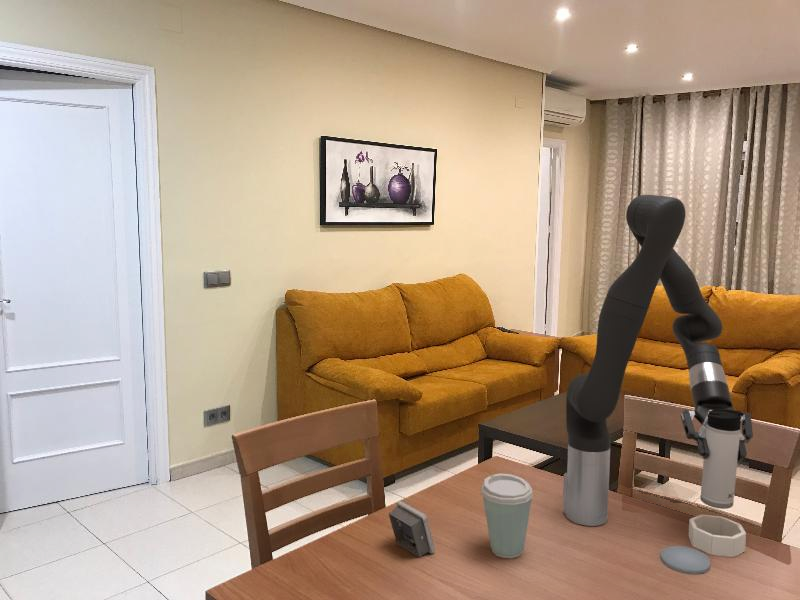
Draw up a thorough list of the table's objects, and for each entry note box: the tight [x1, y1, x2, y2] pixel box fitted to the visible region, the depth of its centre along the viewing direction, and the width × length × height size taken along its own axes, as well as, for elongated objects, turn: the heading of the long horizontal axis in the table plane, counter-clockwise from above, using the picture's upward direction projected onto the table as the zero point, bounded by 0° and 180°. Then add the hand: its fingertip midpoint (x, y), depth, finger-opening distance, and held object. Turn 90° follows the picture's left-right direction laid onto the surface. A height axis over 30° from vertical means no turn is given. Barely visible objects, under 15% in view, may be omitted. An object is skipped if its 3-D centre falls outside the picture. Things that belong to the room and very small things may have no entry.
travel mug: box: [699, 409, 745, 510], centre depth 133 cm, size 6×7×20 cm
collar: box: [688, 514, 747, 558], centre depth 135 cm, size 10×10×4 cm
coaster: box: [660, 545, 711, 575], centre depth 128 cm, size 9×9×1 cm
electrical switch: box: [388, 500, 436, 558], centre depth 133 cm, size 9×5×9 cm, turn 38°
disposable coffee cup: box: [480, 473, 534, 559], centre depth 132 cm, size 11×11×15 cm
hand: (723, 458), depth 132 cm, fingers closed on travel mug, 6 cm apart
